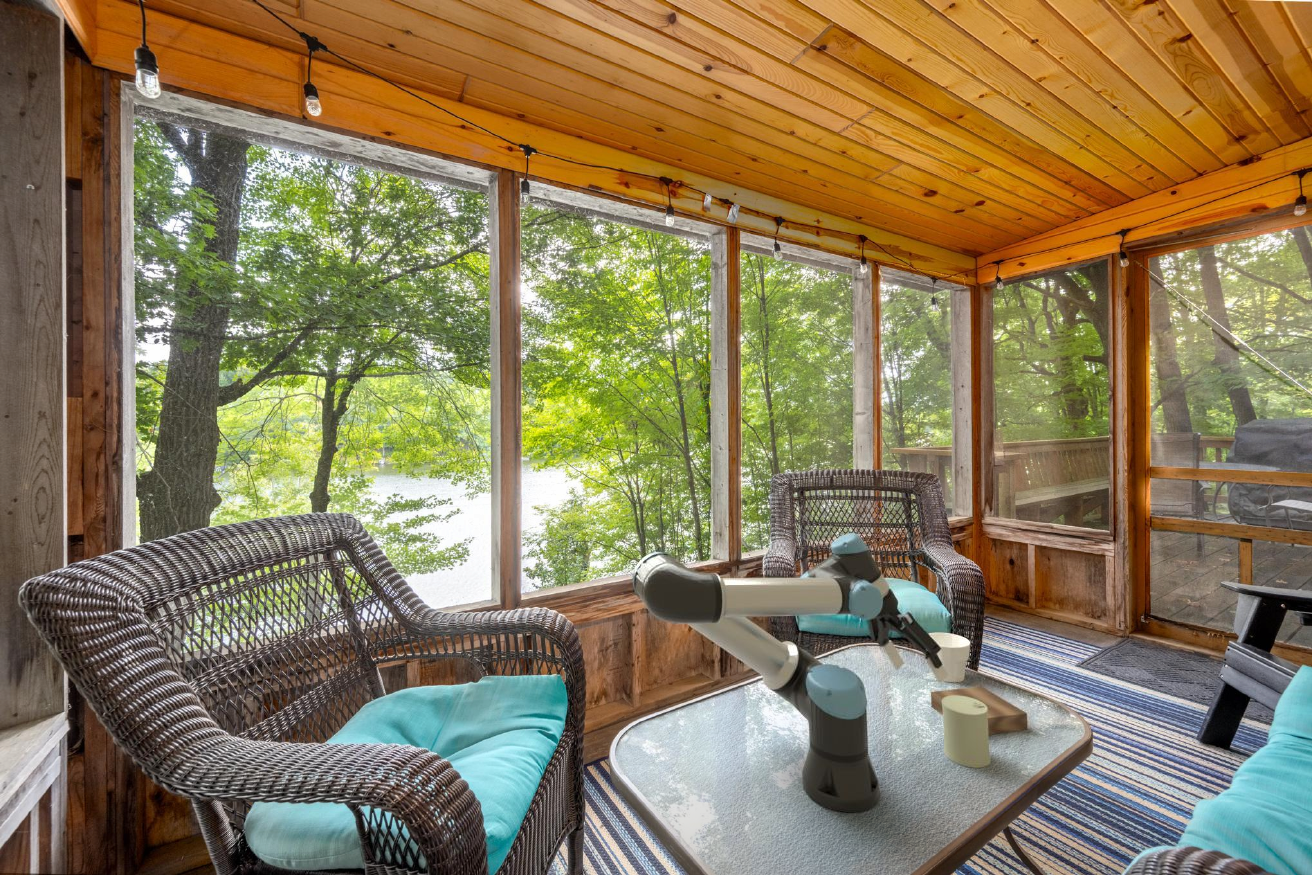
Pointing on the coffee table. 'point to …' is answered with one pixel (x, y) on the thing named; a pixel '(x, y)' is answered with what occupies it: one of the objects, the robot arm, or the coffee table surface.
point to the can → (966, 731)
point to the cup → (952, 654)
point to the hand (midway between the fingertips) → (920, 672)
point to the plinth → (999, 710)
